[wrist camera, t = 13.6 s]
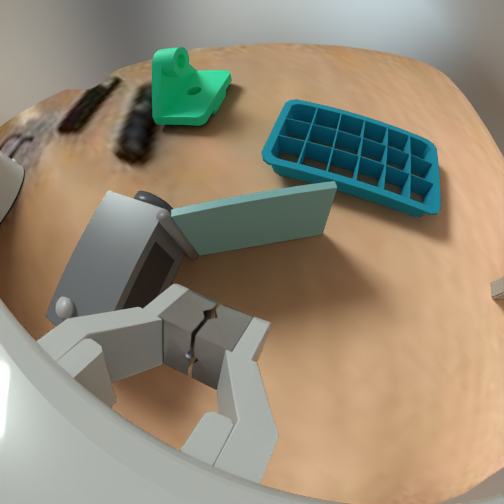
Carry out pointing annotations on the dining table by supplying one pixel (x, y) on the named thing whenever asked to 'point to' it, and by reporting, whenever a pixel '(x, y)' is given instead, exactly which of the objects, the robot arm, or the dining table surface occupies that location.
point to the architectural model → (497, 289)
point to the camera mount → (185, 89)
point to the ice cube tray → (356, 163)
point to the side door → (250, 219)
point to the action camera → (118, 259)
